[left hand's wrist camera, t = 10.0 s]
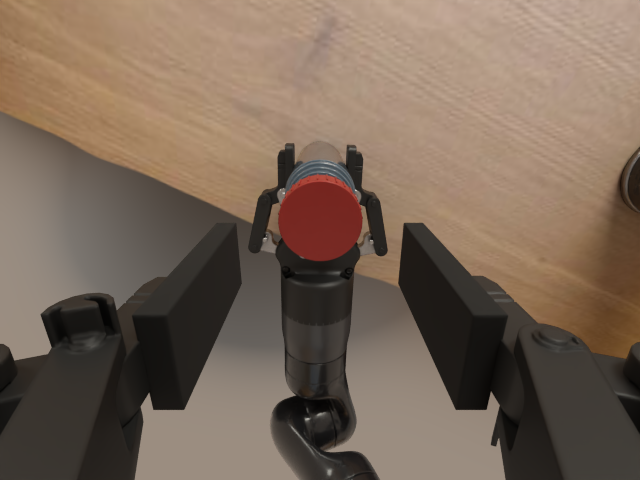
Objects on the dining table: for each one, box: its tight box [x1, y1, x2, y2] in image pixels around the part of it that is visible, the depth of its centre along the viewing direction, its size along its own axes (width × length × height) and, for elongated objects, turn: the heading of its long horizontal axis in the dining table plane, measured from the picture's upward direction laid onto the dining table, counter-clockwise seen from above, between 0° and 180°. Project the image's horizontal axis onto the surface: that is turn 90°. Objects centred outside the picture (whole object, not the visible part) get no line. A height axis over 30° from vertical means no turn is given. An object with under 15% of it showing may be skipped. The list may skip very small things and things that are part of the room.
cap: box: [278, 174, 363, 261], centre depth 19 cm, size 4×4×2 cm
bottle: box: [285, 141, 356, 195], centre depth 28 cm, size 5×5×21 cm
